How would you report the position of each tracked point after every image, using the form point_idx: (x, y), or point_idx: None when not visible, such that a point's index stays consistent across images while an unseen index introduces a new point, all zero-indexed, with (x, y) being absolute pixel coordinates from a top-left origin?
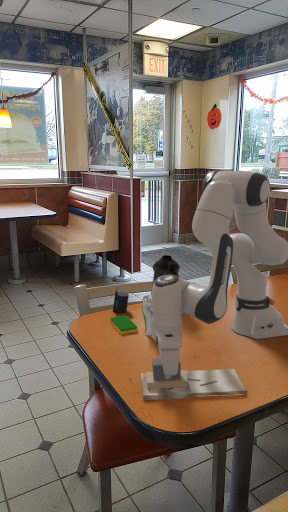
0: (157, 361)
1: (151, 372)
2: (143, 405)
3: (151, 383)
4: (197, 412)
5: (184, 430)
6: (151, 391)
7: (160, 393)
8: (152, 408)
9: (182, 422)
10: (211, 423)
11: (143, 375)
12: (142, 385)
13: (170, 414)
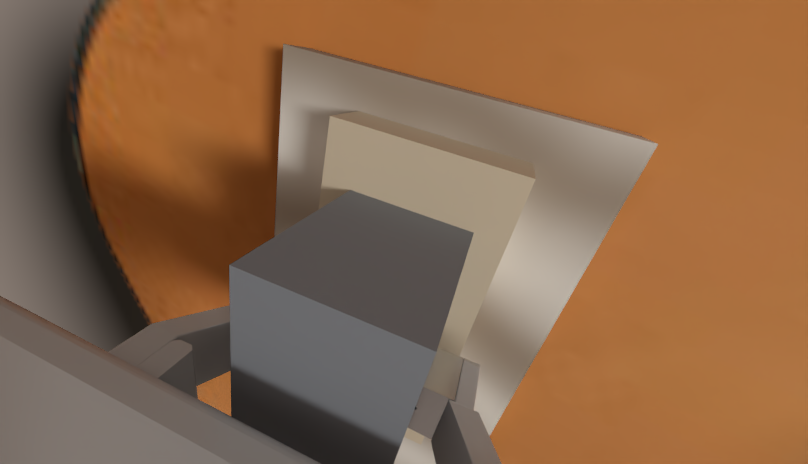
0: (327, 364)
1: (497, 229)
2: (255, 30)
3: (328, 154)
4: (193, 283)
5: (92, 177)
6: (322, 132)
7: (290, 185)
8: (224, 85)
9: (133, 193)
10: (139, 290)
11: (590, 153)
12: (422, 83)
13: (178, 166)
